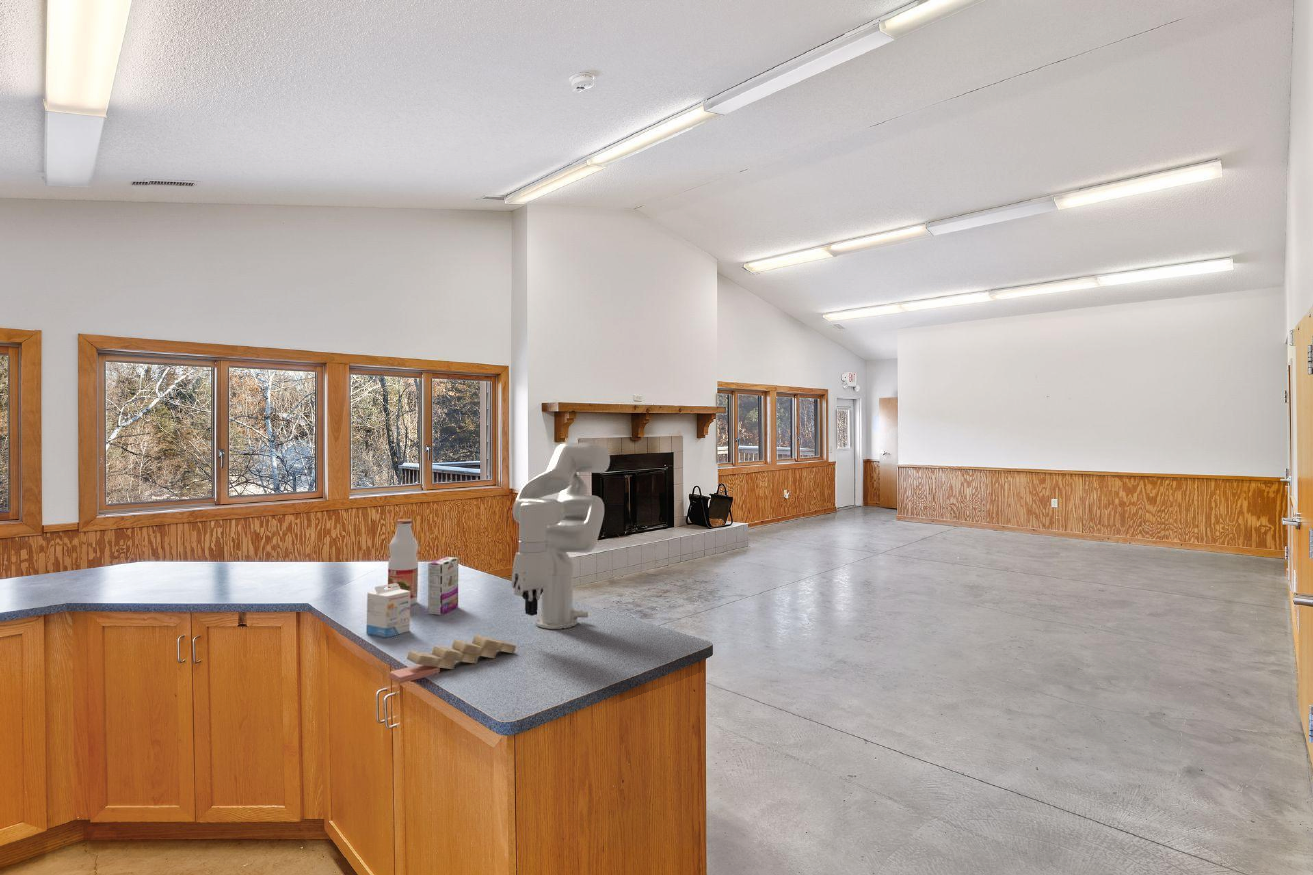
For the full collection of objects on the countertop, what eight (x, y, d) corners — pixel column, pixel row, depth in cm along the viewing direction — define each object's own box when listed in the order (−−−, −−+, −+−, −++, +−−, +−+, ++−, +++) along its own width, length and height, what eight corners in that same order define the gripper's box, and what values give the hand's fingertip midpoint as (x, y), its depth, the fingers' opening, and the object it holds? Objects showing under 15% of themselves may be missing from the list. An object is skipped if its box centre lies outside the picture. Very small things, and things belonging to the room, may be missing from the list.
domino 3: (468, 650, 173) (434, 645, 166) (478, 655, 169) (444, 650, 162) (465, 658, 172) (431, 653, 165) (476, 663, 169) (442, 658, 162)
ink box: (385, 638, 187) (386, 590, 187) (365, 633, 191) (366, 586, 191) (410, 630, 195) (411, 584, 195) (390, 626, 199) (391, 580, 199)
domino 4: (486, 646, 176) (454, 639, 170) (497, 650, 173) (464, 643, 166) (484, 653, 176) (451, 647, 169) (494, 658, 172) (462, 651, 166)
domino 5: (505, 641, 181) (474, 635, 174) (516, 645, 177) (485, 639, 171) (503, 648, 180) (472, 642, 174) (513, 653, 177) (482, 647, 170)
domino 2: (445, 656, 168) (409, 650, 161) (455, 660, 164) (419, 655, 157) (443, 664, 167) (406, 658, 160) (453, 669, 164) (416, 663, 157)
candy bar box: (444, 605, 223) (445, 556, 223) (458, 607, 222) (459, 557, 222) (426, 614, 212) (427, 562, 212) (441, 615, 211) (442, 563, 211)
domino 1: (429, 662, 165) (389, 671, 158) (439, 667, 161) (399, 677, 154) (429, 670, 165) (389, 680, 158) (439, 675, 161) (399, 686, 154)
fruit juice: (423, 602, 227) (425, 519, 227) (401, 608, 219) (403, 522, 219) (403, 598, 231) (405, 517, 231) (380, 604, 223) (382, 520, 223)
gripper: (545, 542, 192) (544, 606, 192) (501, 548, 181) (500, 616, 181) (562, 545, 187) (561, 612, 187) (518, 552, 176) (516, 622, 176)
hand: (531, 614), depth 184 cm, fingers closed
